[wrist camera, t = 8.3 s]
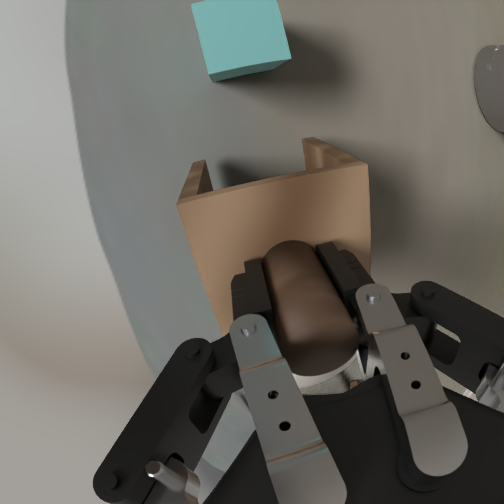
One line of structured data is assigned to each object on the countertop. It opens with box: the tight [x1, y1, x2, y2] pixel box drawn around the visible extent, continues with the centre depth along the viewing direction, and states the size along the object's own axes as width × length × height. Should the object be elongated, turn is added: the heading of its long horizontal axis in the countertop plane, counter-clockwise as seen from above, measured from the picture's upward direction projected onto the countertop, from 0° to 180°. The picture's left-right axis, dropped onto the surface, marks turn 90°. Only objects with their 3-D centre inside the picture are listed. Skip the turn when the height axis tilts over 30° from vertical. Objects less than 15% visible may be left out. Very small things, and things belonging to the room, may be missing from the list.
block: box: [191, 0, 292, 82], centre depth 14 cm, size 4×4×6 cm
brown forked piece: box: [176, 137, 371, 376], centre depth 15 cm, size 8×8×13 cm
